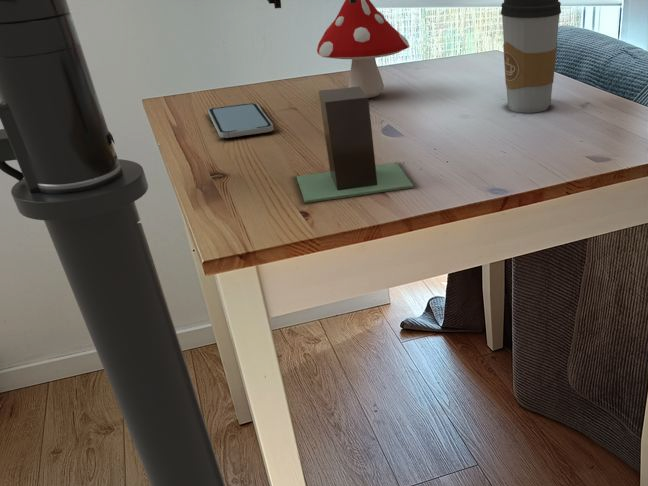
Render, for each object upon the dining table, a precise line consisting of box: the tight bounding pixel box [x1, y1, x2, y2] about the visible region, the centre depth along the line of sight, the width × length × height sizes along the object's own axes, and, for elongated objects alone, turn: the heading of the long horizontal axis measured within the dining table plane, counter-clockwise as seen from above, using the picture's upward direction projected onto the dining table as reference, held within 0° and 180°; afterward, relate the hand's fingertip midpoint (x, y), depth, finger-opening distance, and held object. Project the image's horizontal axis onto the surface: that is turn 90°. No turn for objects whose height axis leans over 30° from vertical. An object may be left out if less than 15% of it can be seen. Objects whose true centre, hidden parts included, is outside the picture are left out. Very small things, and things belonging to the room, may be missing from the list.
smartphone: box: [207, 102, 275, 139], centre depth 99 cm, size 7×1×15 cm
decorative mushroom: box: [316, 0, 410, 99], centre depth 106 cm, size 14×14×15 cm
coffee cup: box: [500, 0, 562, 114], centre depth 98 cm, size 8×8×15 cm
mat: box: [296, 162, 414, 204], centre depth 78 cm, size 12×8×1 cm, turn 108°
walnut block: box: [318, 87, 377, 190], centre depth 76 cm, size 4×5×10 cm
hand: (316, 1), depth 78 cm, fingers open, 8 cm apart
